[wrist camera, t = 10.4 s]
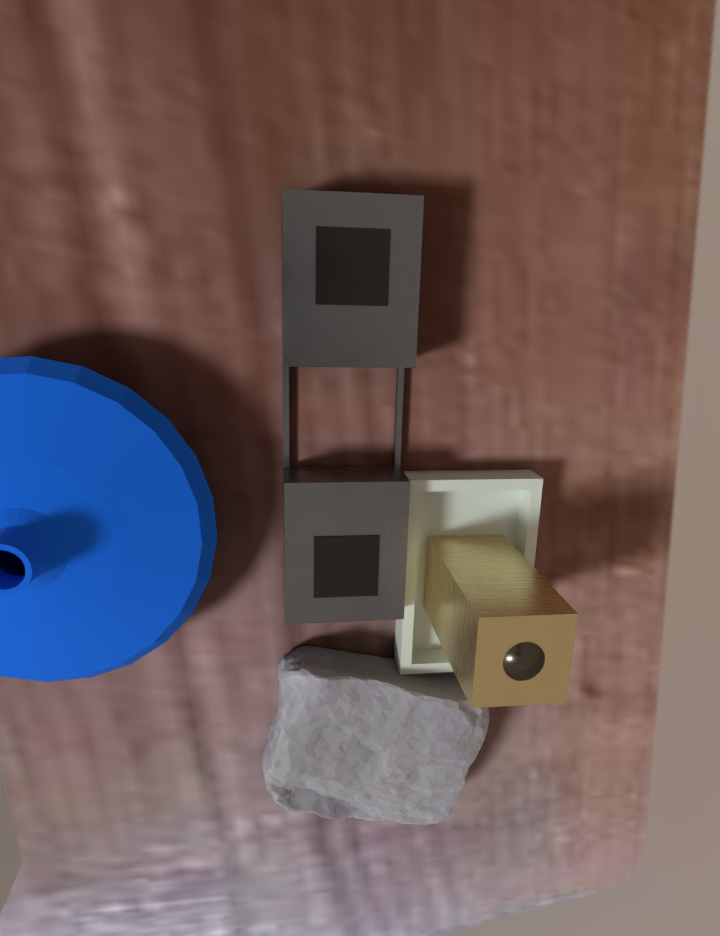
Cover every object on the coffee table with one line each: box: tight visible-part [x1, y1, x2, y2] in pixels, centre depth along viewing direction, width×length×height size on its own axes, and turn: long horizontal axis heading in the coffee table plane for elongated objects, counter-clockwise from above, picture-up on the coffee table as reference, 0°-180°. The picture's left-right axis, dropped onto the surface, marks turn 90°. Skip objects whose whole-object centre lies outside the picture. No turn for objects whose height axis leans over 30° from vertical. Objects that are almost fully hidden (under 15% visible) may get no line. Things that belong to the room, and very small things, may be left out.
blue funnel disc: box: [0, 356, 217, 682], centre depth 28 cm, size 16×16×7 cm
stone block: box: [262, 646, 489, 825], centre depth 36 cm, size 12×5×10 cm
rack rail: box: [282, 189, 424, 624], centre depth 31 cm, size 20×6×3 cm, turn 179°
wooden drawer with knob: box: [423, 534, 578, 708], centre depth 31 cm, size 4×4×9 cm
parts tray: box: [394, 469, 543, 675], centre depth 34 cm, size 11×7×2 cm, turn 179°
